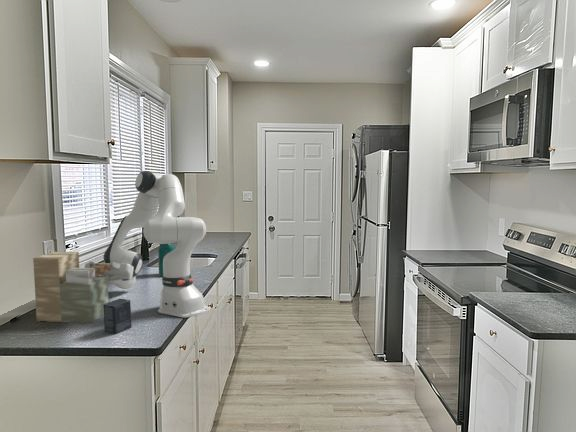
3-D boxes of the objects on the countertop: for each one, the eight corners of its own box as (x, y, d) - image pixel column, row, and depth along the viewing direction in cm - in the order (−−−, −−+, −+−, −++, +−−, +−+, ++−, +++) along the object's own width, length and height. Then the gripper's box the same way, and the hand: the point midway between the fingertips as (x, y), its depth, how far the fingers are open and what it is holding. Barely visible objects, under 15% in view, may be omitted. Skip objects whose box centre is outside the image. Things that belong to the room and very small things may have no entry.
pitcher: (162, 273, 247) (161, 235, 245) (177, 273, 247) (176, 236, 245) (157, 277, 238) (155, 238, 236) (172, 277, 237) (171, 238, 235)
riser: (58, 310, 180) (55, 251, 177) (108, 311, 178) (106, 252, 176) (36, 321, 166) (33, 258, 163) (91, 322, 164) (88, 258, 162)
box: (120, 325, 161) (119, 298, 160) (132, 327, 159) (131, 299, 158) (104, 332, 154) (102, 303, 153) (115, 334, 152) (114, 305, 151)
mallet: (95, 270, 187) (95, 259, 187) (115, 270, 187) (115, 259, 187) (66, 283, 165) (65, 270, 164) (88, 283, 164) (88, 270, 164)
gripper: (94, 266, 197) (79, 256, 185) (137, 266, 196) (124, 256, 183) (91, 279, 195) (75, 270, 182) (134, 280, 193) (122, 270, 181)
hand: (100, 263), depth 183 cm, fingers open, 8 cm apart
